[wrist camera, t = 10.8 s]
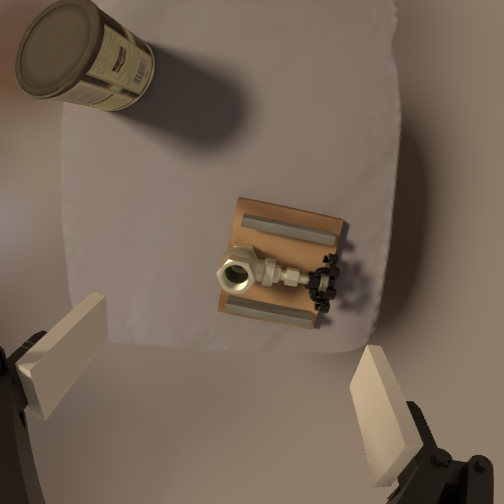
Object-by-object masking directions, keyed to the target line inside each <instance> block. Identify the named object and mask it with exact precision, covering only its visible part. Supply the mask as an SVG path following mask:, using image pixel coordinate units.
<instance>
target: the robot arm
mask: <svg viewBox="0 0 504 504" xmlns="http://www.w3.org/2000/svg"><path fill="white" fill-rule="evenodd" d="M107 341H108V326H107V302H106V295H104V294H100V293H96V292H93V293H92V294H91V295H89V296H88V297H87V298H86V299H85V300H84V301H82V302H81V303H80V304H79V305H78V306H77V307H76V308H74V309H73V310H72V311H71V312H70V313H69V314H68V315H67V316H66V317H64V318H63V319H62V320H61V321H60V322H59V323H58V324H57V325H55V326H54V327H53V328H52V329H51V330H50V331H49V332H46V331H41V332H38V333H36V334H34V335H33V336H32V337H31V338H29V339H28V340H27V342H25V343H24V344H23V345H22V347H19V348H18V349H17V350H16V351H15V352H14V353H13V354H12V355H11V356H10V357H8V358H7V359H6V356H5V352H4V349H3V348H1V346H0V504H45V501H44V497H43V494H42V490H41V487H40V483H39V479H38V475H37V471H36V467H35V463H34V459H33V454H32V449H31V444H30V439H29V434H28V428H27V422H26V416H25V412H24V409H25V408H26V406H27V405H28V406H29V408H30V411H31V414H33V415H35V416H37V417H39V418H41V419H43V420H45V421H46V420H47V418H48V417H49V416H50V414H51V413H52V412H53V410H54V409H55V408H56V406H57V405H58V404H59V402H60V401H61V400H62V398H63V397H64V396H65V394H66V393H67V392H68V391H69V389H70V388H71V387H72V385H73V384H74V383H75V381H76V380H77V379H78V377H79V376H80V375H81V374H82V372H83V371H84V370H85V369H86V367H87V366H88V365H89V364H90V362H91V361H92V360H93V359H94V357H95V356H96V355H97V353H98V352H99V351H100V349H101V348H102V347H103V346H104V345H105V343H106V342H107ZM350 390H351V394H352V397H353V401H354V405H355V409H356V413H357V417H358V421H359V425H360V429H361V434H362V438H363V442H364V446H365V451H366V455H367V459H368V464H369V468H370V472H371V477H372V482H373V487H384V486H391V485H392V483H393V482H394V481H395V480H396V479H398V483H399V486H398V487H397V488H396V489H395V491H394V492H393V493H392V494H391V495H390V496H389V497H388V499H389V500H388V502H387V503H386V504H493V494H494V493H493V492H494V489H493V488H494V482H493V481H494V480H493V479H494V476H493V465H492V463H491V462H490V460H489V459H488V458H486V457H485V456H482V455H475V456H472V457H471V459H470V460H469V461H468V462H461V461H455V460H453V459H452V457H451V455H450V454H449V453H448V452H446V451H445V450H443V449H440V448H438V447H437V445H436V443H435V441H434V438H433V436H432V434H431V431H430V429H429V427H428V425H427V422H426V420H425V419H424V416H423V414H422V411H421V409H420V408H419V407H418V406H417V405H416V404H415V403H414V402H413V401H405V399H404V397H403V394H402V392H401V390H400V388H399V385H398V383H397V381H396V378H395V376H394V374H393V372H392V370H391V368H390V365H389V363H388V361H387V359H386V357H385V355H384V352H383V350H382V348H381V347H380V346H375V345H367V346H366V348H365V351H364V353H363V356H362V358H361V361H360V363H359V366H358V368H357V370H356V373H355V375H354V377H353V380H352V382H351V384H350Z"/></svg>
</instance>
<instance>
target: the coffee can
mask: <svg viewBox="0 0 504 504" xmlns="http://www.w3.org/2000/svg"><path fill="white" fill-rule="evenodd" d="M14 71H15V78H16V82H17V84H18V86H19V88H20V90H21V91H22V92H23V93H24V94H25V95H27V96H29V97H31V98H35V99H51V100H57V101H63V102H68V103H74V104H79V105H84V106H89V107H94V108H99V109H102V110H105V111H117V110H121V109H124V108H126V107H128V106H130V105H132V104H133V103H135V102H136V101H137V100H139V99H140V98H141V97H142V96H143V94H144V93H145V92H146V90H147V89H148V87H149V85H150V83H151V81H152V79H153V75H154V71H155V58H154V55H153V52H152V50H151V48H150V47H149V46H148V45H147V44H146V43H145V42H144V41H142V40H141V39H139V38H138V37H137V36H135V35H134V34H133V33H131V32H130V31H129V30H127V29H126V28H125V27H123V26H122V25H121V24H119V23H118V22H117V21H115V20H114V19H113V18H111V17H110V16H109V15H107V14H106V13H104V12H103V11H102V10H100V9H99V8H98V7H97V6H96V5H95V4H94V3H93V2H92V1H91V0H59V1H57V2H55V3H53V4H51V5H50V6H48V7H47V8H45V9H44V10H43V11H42V12H41V13H40V14H39V15H38V16H37V17H36V18H35V19H34V20H33V21H32V23H31V24H30V25H29V27H28V28H27V30H26V31H25V33H24V35H23V37H22V39H21V41H20V43H19V46H18V49H17V53H16V57H15V66H14Z"/></svg>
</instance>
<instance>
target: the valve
mask: <svg viewBox="0 0 504 504" xmlns="http://www.w3.org/2000/svg"><path fill="white" fill-rule="evenodd" d="M322 262H323V263H326V265H325V266H324V267H320V268H318V269H316V270H315V271H309V272H308V274H307V275H304V274H300V271H299V269H295V268H290V267H287V269H286V270H283V269H281V266H280V265H276V259H271V258H266V260H260V259H258V258H257V255H256V252H255V250H254V247H253V246H252V245H249V244H244V243H237V242H236V243H235V244H234V245H233V246H232V248H230V249H229V250H227V251H226V252H225V253H224V254H223V256H222V257H221V259H220V263H219V269H218V271H217V273H216V274H217V277H218V280H219V282H220V285H221V287H222V289H223V291H226V292H229V293H234V294H241V295H243V294H244V293H245V292H246V291H247V290H248V289H249V288H250V287H251V286H252V284H253V283H254V282H255V281H258V282H261V285H262V286H268V287H271V285H272V282H273V283H278V281H279V280H282V281H284V285H289V286H295V287H296V286H297V284H298V283H302V284H305V288H306V289H308V290H309V297H310V299H311V300H312V301H313V302H315V304H314V310H315V311H318V312H322V313H328V311H329V308H330V304H329V300H330V299H331V300H334V299H335V296H336V289H334V284H335V280H336V279H338V277H339V274H340V269H339V268H337V267H336V265H337V262H338V255H336V254H331V253H329V254H328V256H327V255H324V257H323V261H322ZM236 265H239V266H242V267H243V268H240V267H237V266H236ZM318 303H319V304H318Z"/></svg>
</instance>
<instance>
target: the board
mask: <svg viewBox="0 0 504 504" xmlns="http://www.w3.org/2000/svg"><path fill="white" fill-rule="evenodd" d="M342 225H343V220H342V219H339V218H335V217H331V216H326V215H322V214H317V213H313V212H309V211H304V210H299V209H295V208H290V207H286V206H281V205H276V204H271V203H267V202H262V201H257V200H252V199H247V198H242V197H239V198H238V201H237V207H236V212H235V217H234V223H233V228H232V234H231V239H230V245H229V249H230V248H232V246H233V245H234V244H235V243H236V242H237V243H244V244H249V245H252V246H253V247H254V250H255V252H256V255H257V258H258V259H260V260H266V258H271V259H276V265H280V266H281V269H283V270H286V269H287V267H290V268H295V269H299V271H300V274H304V275H307V274H308V272H309V271H315V270H316V269H318V268H320V267H324V266H325V265H326V263H323V262H322V261H323V257H324V255H327V256H328V254H329V253H331V254H335V252H336V248H337V244H338V241H339V237H340V233H341V229H342ZM236 266H237V267H240V268H243V267H242V266H239V265H236ZM314 304H315V302H313V301H312V300H311V299H310V297H309V290H308V289H306V288H305V284H302V283H298V284H297V286H296V287H295V286H289V285H284V281H282V280H279V281H278V283H273V282H272V285H271V287H268V286H262V285H261V282H258V281H255V282H254V283H253V284H252V286H251V287H250V288H249V289H248V290H247V291H246V292H245V293H244V294H243V295H241V294H234V293H229V292H226V291H223V289H222V290H221V295H220V301H219V307H218V311H219V312H224V313H229V314H233V315H238V316H243V317H248V318H253V319H258V320H263V321H268V322H273V323H278V324H284V325H289V326H295V327H300V328H306V329H312V330H313V327H314V324H315V321H316V318H317V314H318V311H315V310H314ZM318 304H319V303H318Z"/></svg>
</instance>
